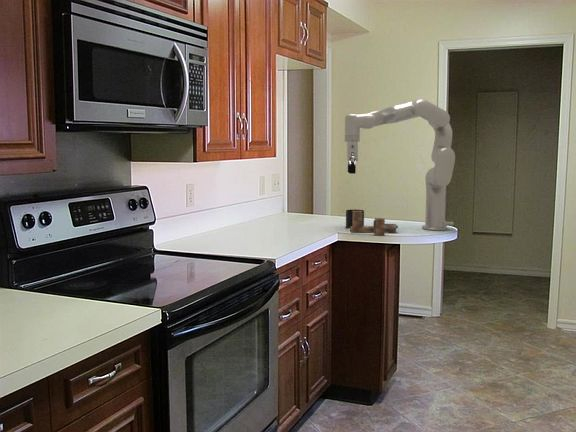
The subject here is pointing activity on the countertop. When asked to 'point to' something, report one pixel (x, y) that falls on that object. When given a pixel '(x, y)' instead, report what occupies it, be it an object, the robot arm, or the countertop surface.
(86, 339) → the countertop surface
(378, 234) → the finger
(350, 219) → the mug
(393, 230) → the rail
